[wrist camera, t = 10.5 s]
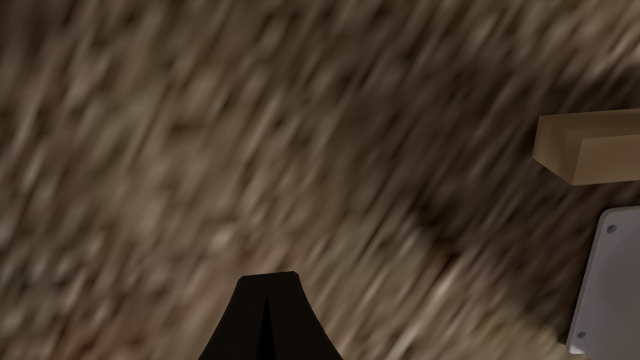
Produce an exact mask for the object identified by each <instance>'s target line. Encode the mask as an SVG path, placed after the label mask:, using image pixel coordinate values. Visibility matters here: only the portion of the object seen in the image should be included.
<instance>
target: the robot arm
mask: <svg viewBox="0 0 640 360" xmlns="http://www.w3.org/2000/svg"><path fill="white" fill-rule="evenodd" d="M610 225H611V226H610ZM609 226H610V227H609ZM608 227H609V228H608ZM607 228H608V229H607ZM566 348H567V349H568V351H569V352H570V353H572V354H580V353H586V354H587V355H588V356H589V358H590V359H591V360H640V206H631V207H620V208H611V209H607V210H606V211H604V212H603V213H602V214H601V216H600V219H599V223H598V226H597V230H596V234H595V238H594V241H593V245H592V249H591V253H590V256H589V260H588V264H587V268H586V271H585V275H584V279H583V283H582V286H581V290H580V294H579V298H578V301H577V305H576V309H575V312H574V316H573V320H572V324H571V327H570V331H569V335H568V339H567V342H566ZM198 360H343V359H342V357H341V356H340V354H339V353H338V352H337V350H336V349H335V347H334V346H333V344H332V343H331V341H330V339H329V338H328V336H327V335H326V333H325V331H324V330H323V328H322V326H321V324H320V323H319V321H318V319H317V318H316V316H315V314H314V312H313V310H312V308H311V306H310V304H309V302H308V300H307V298H306V296H305V293H304V291H303V288H302V286H301V282H300V279H299V275H298V274H297V273H296V272H294V271H289V272H279V273H269V274H259V275H249V276H242V277H241V278H240V279H239V280H238V282H237V285H236V288H235V290H234V292H233V295H232V297H231V299H230V302H229V304H228V306H227V308H226V310H225V312H224V314H223V316H222V318H221V320H220V322H219V324H218V326H217V327H216V329H215V331H214V333H213V335H212V337H211V339H210V340H209V342H208V344H207V346H206V347H205V349H204V351H203V352H202V354H201V355H200V357H199V359H198Z"/></svg>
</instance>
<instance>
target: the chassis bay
mask: <svg viewBox="0 0 640 360" xmlns="http://www.w3.org/2000/svg"><path fill="white" fill-rule="evenodd" d="M532 158H533V159H535V160H536V161H538V162H539V163H541V164H542V165H543V166H545V167H546V168H548V169H549V170H550V171H552V172H553V173H555V174H556V175H557V176H559V177H560V178H562V179H563V180H564V181H566V182H567V183H569V184H570V185H571V186H576V185H587V184H599V183H610V182H621V181H633V180H640V108H635V109H622V110H608V111H595V112H582V113H568V114H555V115H541V116H539V121H538V126H537V132H536V137H535V143H534V149H533V154H532Z"/></svg>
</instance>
